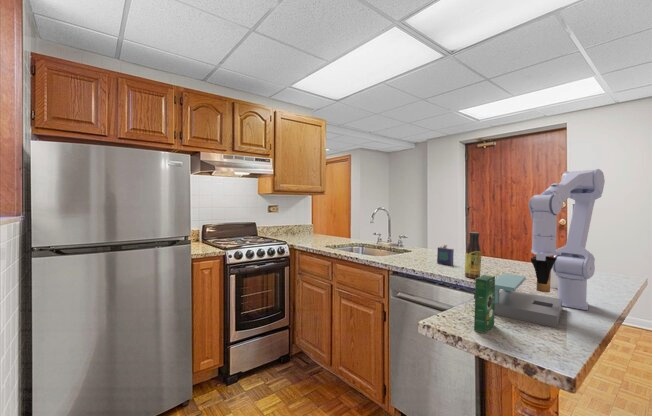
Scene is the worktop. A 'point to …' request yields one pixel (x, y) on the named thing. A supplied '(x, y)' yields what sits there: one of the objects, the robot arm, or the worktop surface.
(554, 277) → the white cube
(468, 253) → the sauce bottle
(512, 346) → the worktop surface
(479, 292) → the coffee box
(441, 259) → the flask
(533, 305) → the socket stand
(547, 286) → the peg
